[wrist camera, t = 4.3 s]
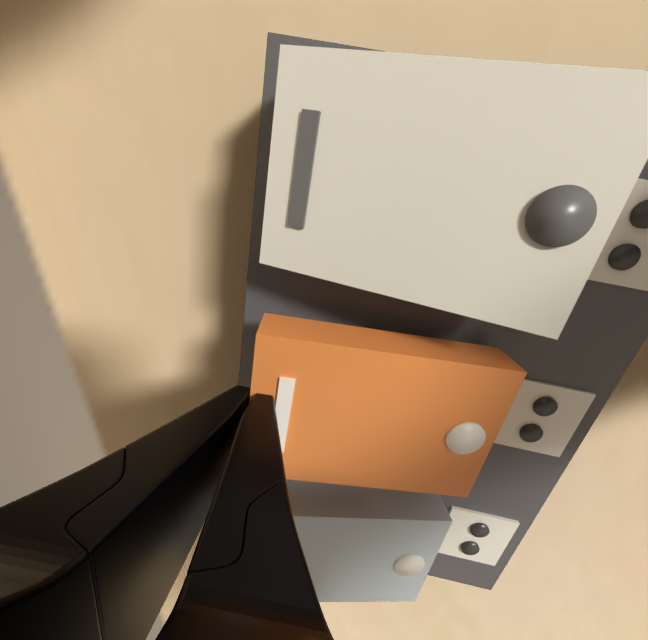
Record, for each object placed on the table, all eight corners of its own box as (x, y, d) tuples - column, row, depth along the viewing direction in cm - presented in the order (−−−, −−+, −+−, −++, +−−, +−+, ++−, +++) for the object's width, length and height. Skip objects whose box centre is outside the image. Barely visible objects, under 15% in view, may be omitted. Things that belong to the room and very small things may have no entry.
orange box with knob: (498, 347, 10) (529, 374, 8) (449, 461, 11) (468, 500, 10) (264, 312, 9) (255, 335, 7) (250, 439, 11) (241, 477, 9)
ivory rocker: (637, 101, 6) (695, 70, 5) (538, 319, 8) (558, 340, 6) (305, 71, 8) (278, 42, 6) (282, 255, 10) (257, 263, 8)
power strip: (665, 139, 10) (816, 110, 7) (469, 524, 17) (496, 606, 13) (293, 76, 11) (260, 19, 7) (248, 473, 17) (220, 539, 14)
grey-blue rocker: (435, 485, 12) (453, 523, 11) (403, 562, 14) (415, 604, 12) (246, 475, 11) (239, 517, 10) (237, 559, 13) (230, 605, 11)
